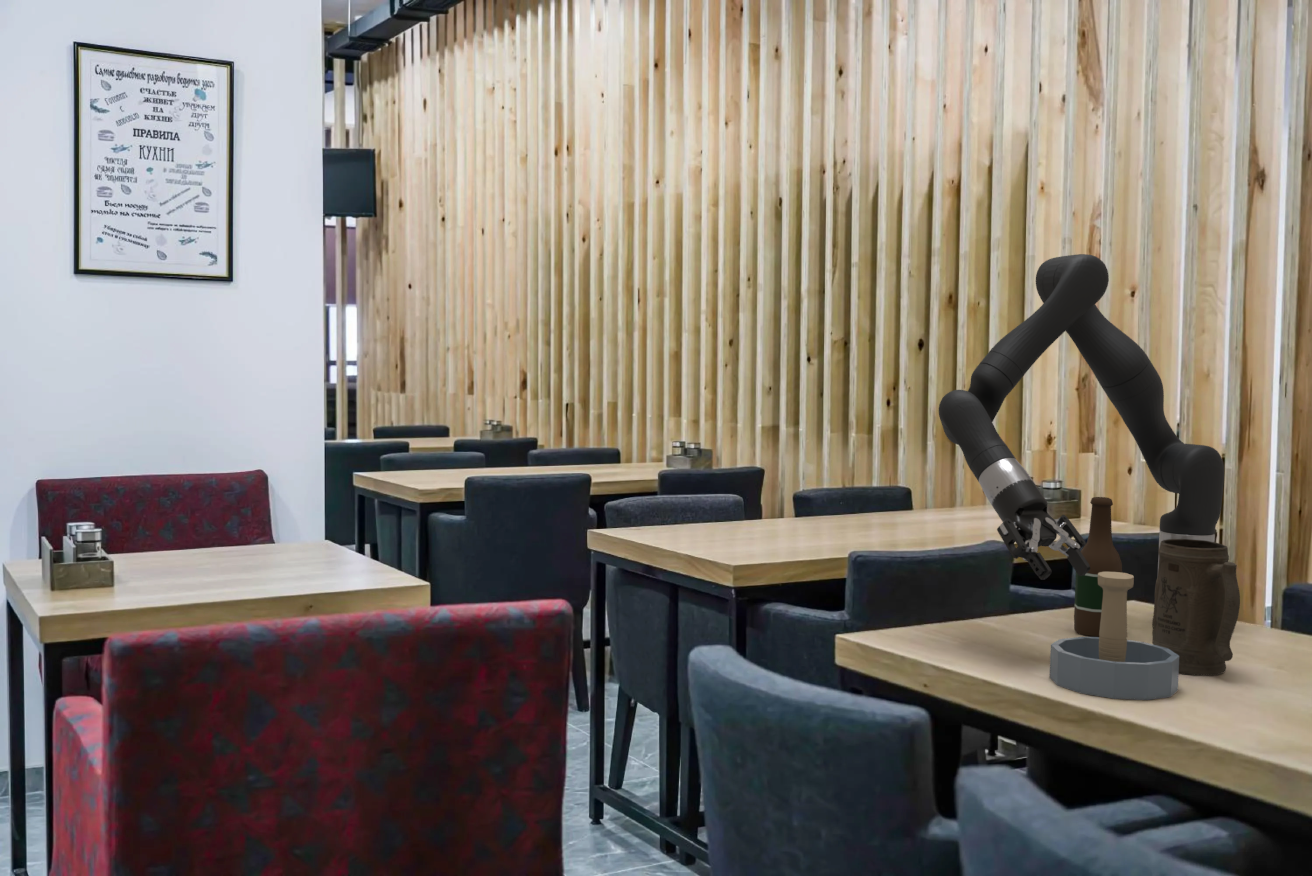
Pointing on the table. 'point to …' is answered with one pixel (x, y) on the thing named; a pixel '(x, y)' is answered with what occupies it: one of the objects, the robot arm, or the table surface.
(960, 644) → the table surface
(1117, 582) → the handle
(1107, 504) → the beer bottle
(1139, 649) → the bowl
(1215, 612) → the beer stein
